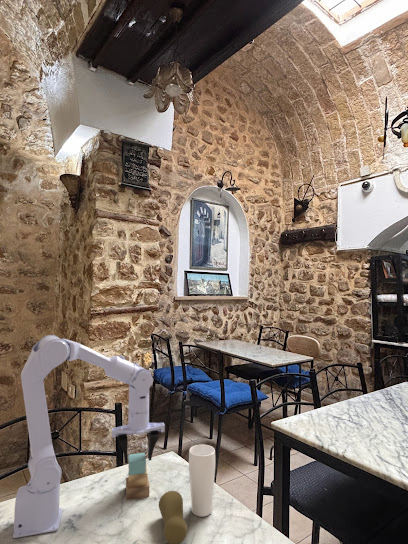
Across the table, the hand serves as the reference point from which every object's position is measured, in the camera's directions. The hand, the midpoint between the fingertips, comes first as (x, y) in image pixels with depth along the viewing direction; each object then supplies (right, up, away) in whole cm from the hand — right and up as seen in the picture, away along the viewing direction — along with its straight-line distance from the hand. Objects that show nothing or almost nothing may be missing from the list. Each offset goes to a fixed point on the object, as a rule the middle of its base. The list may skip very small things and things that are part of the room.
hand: (138, 460), depth 94 cm
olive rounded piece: (+10, -5, -10) cm, 15 cm away
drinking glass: (+18, -8, -9) cm, 22 cm away
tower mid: (0, -6, 0) cm, 6 cm away
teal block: (0, -3, 0) cm, 3 cm away
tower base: (0, -9, -1) cm, 9 cm away
